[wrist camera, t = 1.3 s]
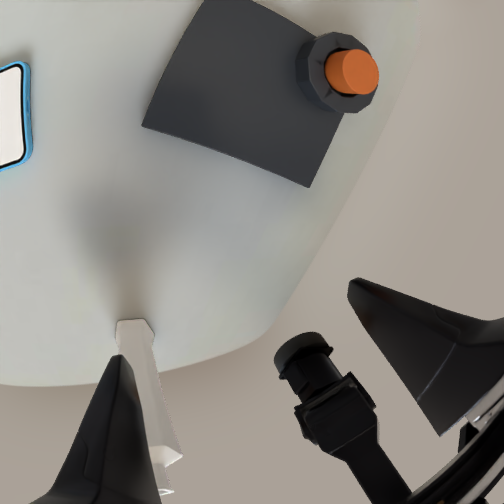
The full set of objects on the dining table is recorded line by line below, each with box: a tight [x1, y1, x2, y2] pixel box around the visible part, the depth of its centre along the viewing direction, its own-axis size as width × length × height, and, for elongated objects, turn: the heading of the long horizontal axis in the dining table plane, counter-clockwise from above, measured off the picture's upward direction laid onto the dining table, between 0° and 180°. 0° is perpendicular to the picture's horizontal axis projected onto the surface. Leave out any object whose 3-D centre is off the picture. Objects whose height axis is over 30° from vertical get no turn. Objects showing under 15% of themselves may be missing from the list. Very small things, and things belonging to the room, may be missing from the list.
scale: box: [142, 0, 378, 188], centre depth 15 cm, size 14×12×3 cm
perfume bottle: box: [115, 319, 183, 495], centre depth 17 cm, size 5×4×15 cm
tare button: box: [325, 49, 379, 94], centre depth 15 cm, size 3×3×2 cm
